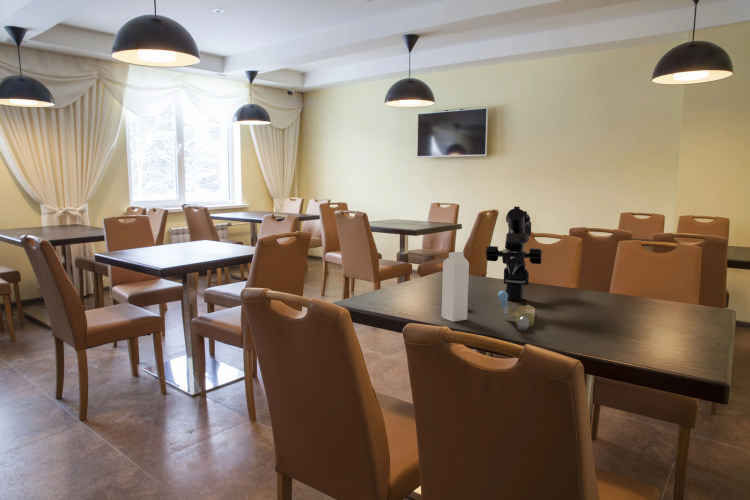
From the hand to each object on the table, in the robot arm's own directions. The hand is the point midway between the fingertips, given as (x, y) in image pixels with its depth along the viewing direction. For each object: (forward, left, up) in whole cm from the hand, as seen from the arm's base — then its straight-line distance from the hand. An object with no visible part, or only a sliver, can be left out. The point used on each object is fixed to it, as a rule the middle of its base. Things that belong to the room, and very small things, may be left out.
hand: (511, 274), depth 170 cm
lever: (+8, +5, -12) cm, 15 cm away
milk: (+22, -5, -14) cm, 26 cm away
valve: (+6, +10, -13) cm, 18 cm away
